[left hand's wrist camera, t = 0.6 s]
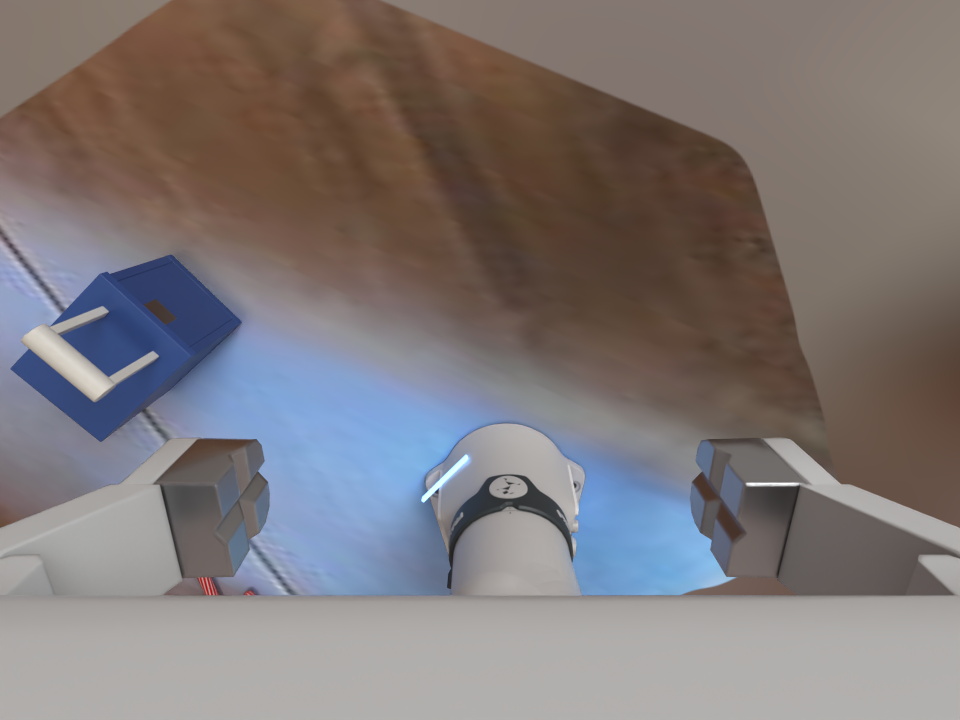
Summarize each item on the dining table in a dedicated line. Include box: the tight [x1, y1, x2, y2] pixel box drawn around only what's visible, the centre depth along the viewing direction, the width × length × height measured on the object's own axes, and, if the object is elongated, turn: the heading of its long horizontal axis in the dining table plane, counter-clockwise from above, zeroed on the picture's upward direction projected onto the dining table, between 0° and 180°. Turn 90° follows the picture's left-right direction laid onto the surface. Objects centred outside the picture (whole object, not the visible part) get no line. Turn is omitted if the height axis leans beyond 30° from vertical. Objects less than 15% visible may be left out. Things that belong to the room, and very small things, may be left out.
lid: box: [11, 272, 196, 442], centre depth 44 cm, size 13×10×9 cm
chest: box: [110, 255, 242, 435], centre depth 53 cm, size 12×10×11 cm
